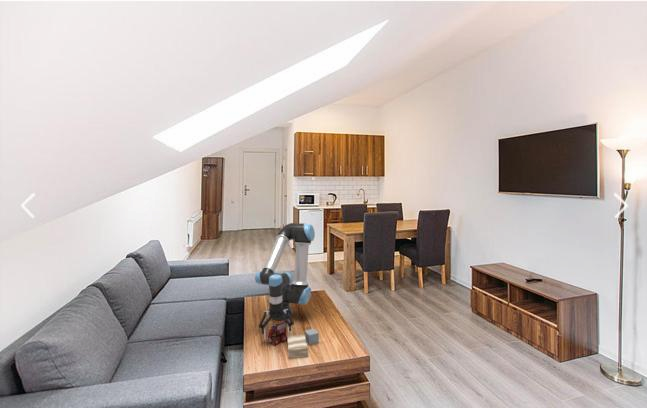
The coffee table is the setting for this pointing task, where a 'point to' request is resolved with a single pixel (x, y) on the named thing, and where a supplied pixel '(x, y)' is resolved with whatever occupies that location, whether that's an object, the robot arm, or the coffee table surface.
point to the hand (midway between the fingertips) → (276, 337)
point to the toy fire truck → (277, 333)
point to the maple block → (297, 346)
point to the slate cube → (311, 336)
